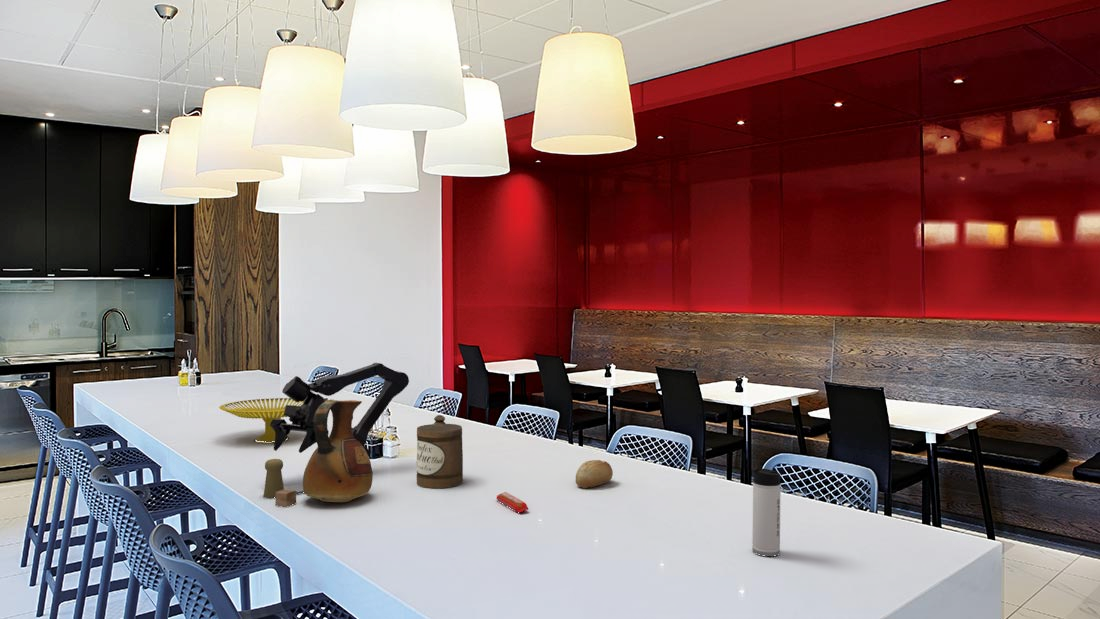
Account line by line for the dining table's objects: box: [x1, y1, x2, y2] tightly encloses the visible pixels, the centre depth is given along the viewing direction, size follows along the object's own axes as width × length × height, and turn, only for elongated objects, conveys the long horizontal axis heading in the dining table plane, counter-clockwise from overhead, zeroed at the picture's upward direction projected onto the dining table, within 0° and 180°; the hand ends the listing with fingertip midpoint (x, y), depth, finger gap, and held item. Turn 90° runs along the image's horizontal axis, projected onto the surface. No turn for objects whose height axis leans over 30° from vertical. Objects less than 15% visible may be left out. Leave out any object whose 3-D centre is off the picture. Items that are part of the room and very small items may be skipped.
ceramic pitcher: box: [302, 398, 374, 503], centre depth 217 cm, size 20×20×30 cm
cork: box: [263, 458, 285, 499], centre depth 221 cm, size 6×6×11 cm
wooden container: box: [416, 414, 464, 489], centre depth 237 cm, size 15×15×22 cm
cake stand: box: [218, 397, 305, 442], centre depth 306 cm, size 40×40×15 cm
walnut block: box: [274, 489, 297, 508], centre depth 211 cm, size 4×4×4 cm
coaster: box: [284, 483, 304, 495], centre depth 227 cm, size 8×8×1 cm
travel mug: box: [751, 467, 782, 556], centre depth 174 cm, size 6×7×20 cm
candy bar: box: [496, 491, 529, 514], centre depth 211 cm, size 16×4×3 cm, turn 29°
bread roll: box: [575, 459, 614, 489], centre depth 236 cm, size 10×15×8 cm, turn 139°
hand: (287, 450), depth 227 cm, fingers open, 9 cm apart
